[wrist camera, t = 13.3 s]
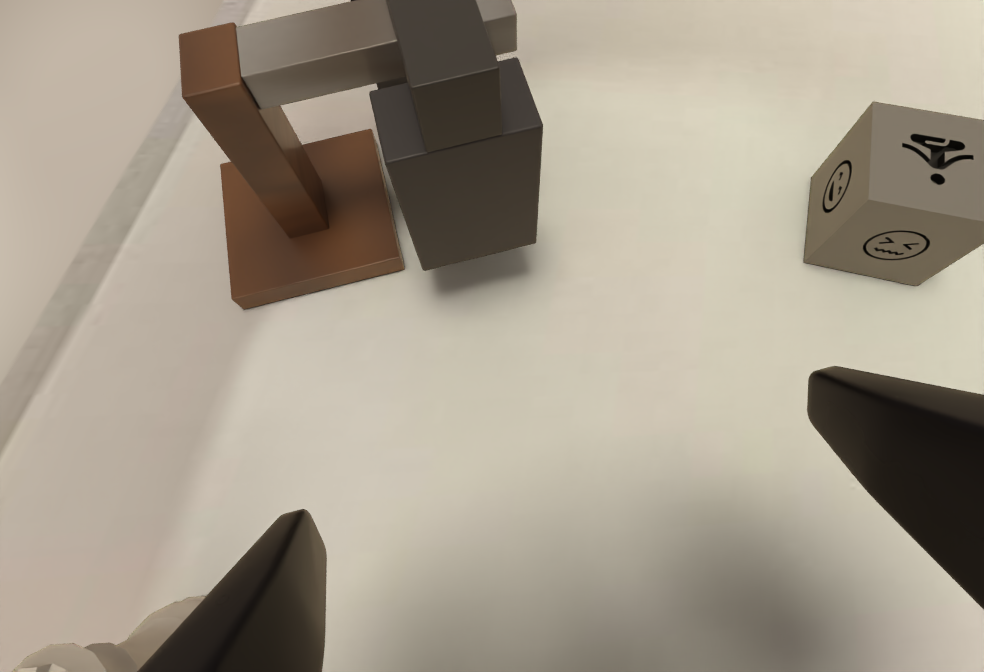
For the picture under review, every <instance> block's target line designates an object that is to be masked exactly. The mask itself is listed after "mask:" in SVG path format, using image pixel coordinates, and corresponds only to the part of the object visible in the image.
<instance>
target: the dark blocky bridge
mask: <svg viewBox="0 0 984 672" xmlns="http://www.w3.org/2000/svg"><path fill="white" fill-rule="evenodd" d="M351 1H355V0H351ZM386 2H387V6H388V9H389V13H390V17H391V21H392V25H393V28H394V32H395V36H396V40H397V43H398V47H399V51H400V55H401V59H402V62H403V66H404V70H405V74H406V76H405V77H401V78H396V79H392V80H388V81H383V82H379V83H376V84H377V87H378V90H374V91H371V92H370V94H369V95H370V100H371V104H372V108H373V113H374V117H375V122H376V126H377V130H378V135H379V139H380V144H381V148H382V153H383V157H384V161H385V165H386V168H387V170H388V173H389V176H390V179H391V182H392V185H393V187H394V190H395V193H396V196H397V199H398V201H399V204H400V207H401V210H402V213H403V216H404V218H405V221H406V224H407V227H408V230H409V232H410V235H411V238H412V241H413V244H414V247H415V249H416V252H417V255H418V258H419V261H420V263H421V266H422V269H423V270H424V271H426V270H430V269H434V268H438V267H442V266H446V265H450V264H454V263H458V262H462V261H466V260H470V259H474V258H478V257H482V256H486V255H490V254H494V253H498V252H502V251H506V250H510V249H514V248H518V247H522V246H526V245H530V244H534V243H536V236H537V219H538V202H539V185H540V168H541V151H542V134H543V124H542V121H541V119H540V116H539V113H538V111H537V108H536V105H535V103H534V100H533V97H532V95H531V92H530V89H529V86H528V84H527V81H526V78H525V76H524V73H523V70H522V68H521V65H520V62H519V60H518V58H511V59H507V60H503V61H497V58H496V55H495V53H494V50H493V47H492V44H491V41H490V39H489V36H488V33H487V30H486V27H485V24H484V22H483V19H482V16H481V13H480V10H479V7H478V5H477V2H476V0H386Z"/></svg>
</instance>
